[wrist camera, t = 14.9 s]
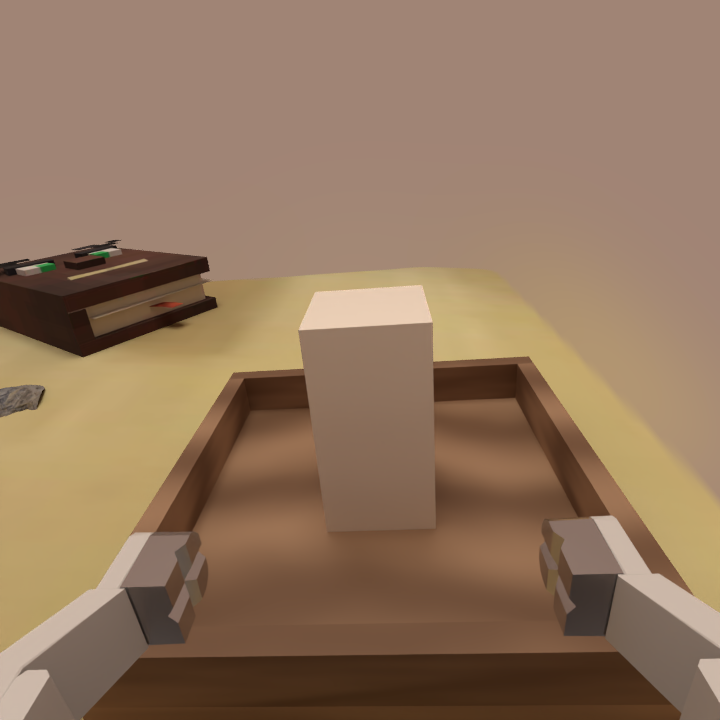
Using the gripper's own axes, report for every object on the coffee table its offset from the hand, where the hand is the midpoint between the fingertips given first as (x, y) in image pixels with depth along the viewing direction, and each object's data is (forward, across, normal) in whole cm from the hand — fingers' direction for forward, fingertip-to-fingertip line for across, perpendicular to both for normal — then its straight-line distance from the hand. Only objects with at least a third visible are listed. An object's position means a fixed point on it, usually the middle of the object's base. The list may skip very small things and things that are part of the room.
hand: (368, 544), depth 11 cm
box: (+11, 0, -9) cm, 14 cm away
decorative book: (+48, -36, -9) cm, 60 cm away
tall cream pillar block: (+11, 0, -8) cm, 13 cm away
